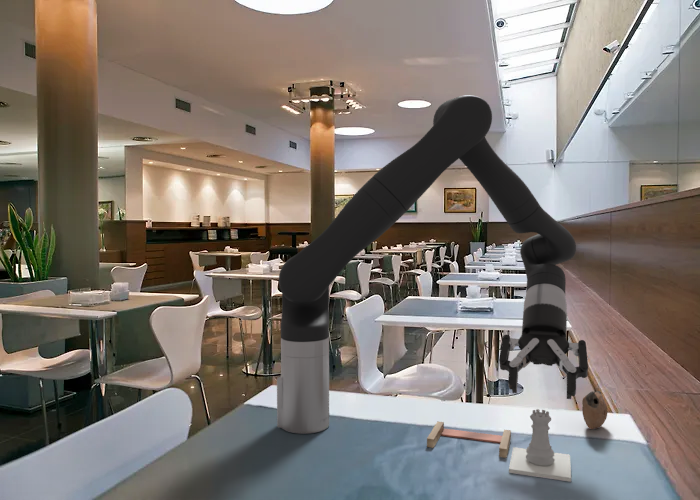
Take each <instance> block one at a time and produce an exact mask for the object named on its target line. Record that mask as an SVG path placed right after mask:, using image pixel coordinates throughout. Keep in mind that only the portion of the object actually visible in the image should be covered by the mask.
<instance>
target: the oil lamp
mask: <svg viewBox="0 0 700 500" xmlns="http://www.w3.org/2000/svg"><path fill="white" fill-rule="evenodd" d="M581 401H582V402H581V405H582V408H581V409H582V412H581V413H582V417H583V420H584V422H585V425H586V426H587V427H588V429H590V430H594V429H595V430H596V429H599V428H602V426H604V424H605V421H606V420H607V417H608V405H607V403H606V401H605V399H604V397H603V394H602V391H601V390H597V391H590V392H589V393H587V394H586V395H584V396H583V398H582V400H581Z"/></svg>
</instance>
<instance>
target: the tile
mask: <svg viewBox="0 0 700 500" xmlns="http://www.w3.org/2000/svg"><path fill="white" fill-rule="evenodd" d="M526 449H527V448H521V447H516V446H514V447H513V446H512V452H511V456H510V461H509V462H510V463H509V466H508V467H509V468H508V473H509V474H514V475H516V474H517V475H521V476H529V477H536V478H542V479H550V480H556V481H563V482H570V483H572V470H571V469H572V467H571V455H570V454H568V453H567V454H566V453H560V452H554V456H553V458H554V459H555V461H554V462H553V464H551V465H549V466H538V465H534V464H532V463H530V462H529V461H528V460H527V459H526V455H527V452H526Z"/></svg>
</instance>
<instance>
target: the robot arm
mask: <svg viewBox="0 0 700 500" xmlns="http://www.w3.org/2000/svg"><path fill="white" fill-rule="evenodd" d="M492 122H493V112H492V108H491V106H490V105H489V103H488V102H487V101H486V100H485V99H484V98H482V97H479V96H477V95H472V94H471V95H469V94H468V95H467V94H466V95H465V94H464V95H460V96H455V97H454V98H450V99H448V100H446V101H444V102H443V103H441V104H440V105H439V106H438V108H437V109H436V110H435V112H434V115H433V122H432V125H433V126H432V127H431V128H430V129H429V130H428V131H427V132H426V133H425V134H424V135H423V137H421V138H420V139H419V140H418V141H417V142H416V143H415V144H413V145H412V146H411V147H409V148H408V149H407V150H405V151H404V152H403V153H401V154H400V155H398V156H397V157H395V158H393V159H392V160H391V161H389V163H387V164H385V165H384V166H383V167H382V168H380V169H379V170H378V171H377V172H376V173H375V174H374V175H372V177H370V178H369V180H368V181H366V182H365V183H364V184H363V185H362V186H361V188H359V189H358V190H357V192H356V193H355V194H354V195H353V196H352V197H351V198H350V199H349V200H348V201H347V203H346V204H345V205H344V206H343V207H342V209H341V210H340V212H339V213H338V214H337V215H336V217H335V218H334V219H333V220H332V222H331V223H330V224H329V225H328V226H327V228H326V229H325V230H323V232H322V233H320V235H318V236H317V237H316V238H315V239H314V240H312V241H311V243H309V244H308V245H306V247H304V248H302V250H300V251H299V252H298V253H297V254H295V255H293V256H292V257H290V258H289V259H287V260H286V261H285V262H284V263H283V265H282V267H281V269H280V272H279V273H278V274H279V275H278V286H279V289H280V292H281V305H282V306H281V308H282V309H281V318H280V319H281V320H280V376H278V377H277V378H276V405H277V406H276V414H277V416H276V420H277V421H276V422H277V423H276V425H277V426H276V427H277V428H279V429H280V428H281V429H283V430H284V431H286V432H289V433H293V434H306V435H307V434H314V433H319V432H323V431H324V430H326V429H328V427H330V341H329V340H330V286H331V284H332V283H333V282H334V281H335V279H337V277H338V275H339V274H341V272H342V271H343V270H344V269H345V267H346V266H347V265H348V264H349V263H350V262H351V261H352V260H353V259H354V258H355V257H356V256H357V255H358V254H360V252H362V251H363V250H365V249H366V248H368V247H369V246H370V245H371V244H373V243H374V242H375V241H376V240H377V239H379V238H380V237H381V236H383V234H384V233H386V231H388V230H389V229H390V228H391V227H392V226H393V225H395V224H396V222H398V220H399V219H401V218H402V217H403V215H404V214H406V213H407V212H408V210H410V208H411V207H412V206H414V205H415V203H416V202H417V201H419V199H420V198H421V197H422V196H423V195H424V194H425V193H426V192H427V191H428V190H429V188H431V186H432V185H433V184H434V183H435V182H436V180H437V179H438V178H439V177H440V176H441V175H442V174H443V173H444V172H445V171H446V170H447V169H448V168H450V166H451V165H453V164H454V163H455V162H456V161H458V160H459V161H461V163H462V164H464V166H465V167H466V169H468V170H469V171H470V173H471V174H472V175H473V176H474V178H475V179H476V180H477V181H478V183H479V185H480V186H481V187H482V188H483V190H484V191H485V193H487V195H488V197H489V198H490V200H491V201H492V202H493V204H494V205H495V207H496V209H498V211H499V213H500V214H501V216H502V217H503V219H504V220H505V222H507V224H508V226H509V227H510V229H512V231H513V232H515V233H516V234H529V233H535V234H536V235H535V234H534V235H533V236H529V238H527V239H525V240H524V241H523V242H522V244H521V246H520V250H519V251H520V252H519V253H520V258H521V260H522V263H523V266H524V270H525V271H524V272H525V274H526V290H525V291H526V293H525V297H524V301H523V311H522V328H521V335H520V337H519V338H514V337H513V338H512V337H511V336H510V335H509V334H504V335H503V336H502V340H501V341H502V342H501V346H500V352H499V356H498V357H499V358H498V363H499V369H500V370H502V371H507V372H508V380H507V385H508V388H509V390H511V393H512V394H517V393H518V380H519V372H520V371H521V370H522V369H524V368H526V367H527V366H528V365H529V364H531V363H532V364H533V365H536V366H537V365H544V366H548V367H549V366H550V367H553V365H555V366H556V367H557V368H558V369H559V370H560V371H561V372H563V373H564V374H565V376H566V399H568V400H572V397H576V394H577V379H579V378H582V379H584V378H585V379H587V377H588V375H589V373H588V370H589V363H588V362H589V361H588V360H589V359H588V352H587V342H586V340H583V339H580V340H578V342H569V341H568V340H567V329H568V328H567V326H568V325H567V317H568V311H567V309H568V308H567V307H568V305H567V304H568V303H567V299H566V285H567V284H566V282H567V281H566V274H565V272H564V270H563V268H561V267H560V266H558V265H559V264H562V263H565V262H567V261H570V260H572V258H574V257H575V255H576V252H577V244H576V240H575V238H574V236H573V235H572V234H571V232H570V231H569V230H568V229H567V228H565V226H564V225H562V224H561V223H560V222H558V220H556V219H555V218H553V216H551V215H550V214H549V213H548V212H547V211H546V210H544V209H543V207H542V206H541V204H540V203H539V201H538V200H537V199H536V197H535V195H534V194H533V193H532V191H531V189H530V188H529V187H528V186H527V184H526V183H525V182H524V180H523V179H522V178H521V177H520V176H519V175H518V174H517V173H516V172H515V171H514V170H513V169H512V168H511V167H509V166H508V165H507V164H506V163H505V162H504V160H502V159H501V157H500V156H499V155H498V154H497V153H496V151H495V150H494V149H493V148H492V146H491V144H490V143H489V142H488V141H487V138H486V136H487V134H488V133H489V132H490V129H491V126H492ZM516 347H518V349H520V351H519V352H518V353H517V354H516V356H515V357H514V358H513V359H511V360H509V358H510V357H509V356H510V352H513V351H514V350H515V348H516ZM569 351H571V352H573V355H574V356H576V357H578V366H575V365H574V364H573V363H572V362H571V360H570V359H569V357H568V356H567V354H568V353H569Z"/></svg>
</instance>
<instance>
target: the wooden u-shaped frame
mask: <svg viewBox="0 0 700 500" xmlns="http://www.w3.org/2000/svg"><path fill="white" fill-rule="evenodd" d="M444 423H445V422H444V421H436V422H435V424H434V426H433V428H432V430H431V431H430V433H429V434H428V436H427V437H426V447H427V448H430V449H431V448H432V449H434V448H435V447H436V445H437V443H438V441H439V439H440V438H441V437H448V438H456V439H464V440H470V441H471V440H472V441H478V442H479V441H480V442H487V443H493V444H499V446H498V450H499V452H498V454H499V455H498V457H499V458H502V459H503V458H504V459H507V458H508V453H509V449H510V444H511V439H512V430H511V429H503V433H502V435H499V434H490V433H482V432H475V431H468V430H457V429H451V428H450V429H449V428H445V424H444Z"/></svg>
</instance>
